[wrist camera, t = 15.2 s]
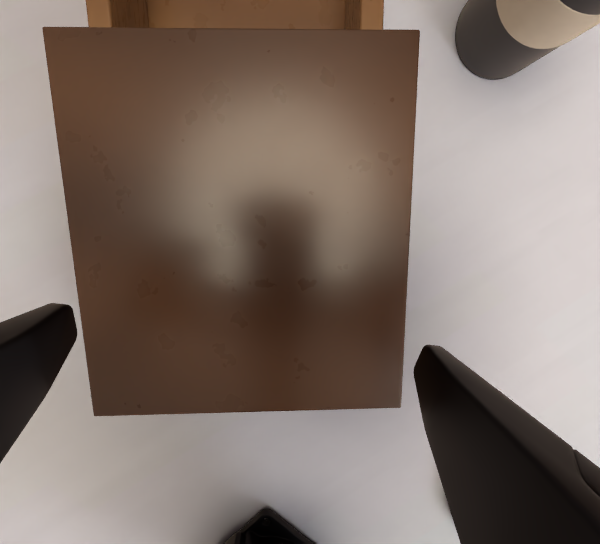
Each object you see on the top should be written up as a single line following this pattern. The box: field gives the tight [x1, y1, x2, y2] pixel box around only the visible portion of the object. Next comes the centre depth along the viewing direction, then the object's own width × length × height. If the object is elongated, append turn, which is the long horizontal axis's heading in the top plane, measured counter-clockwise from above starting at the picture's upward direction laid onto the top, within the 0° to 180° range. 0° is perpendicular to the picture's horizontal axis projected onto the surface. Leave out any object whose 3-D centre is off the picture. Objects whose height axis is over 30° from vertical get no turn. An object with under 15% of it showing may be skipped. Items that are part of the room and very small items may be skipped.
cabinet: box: [43, 27, 420, 416], centre depth 15 cm, size 14×12×6 cm
